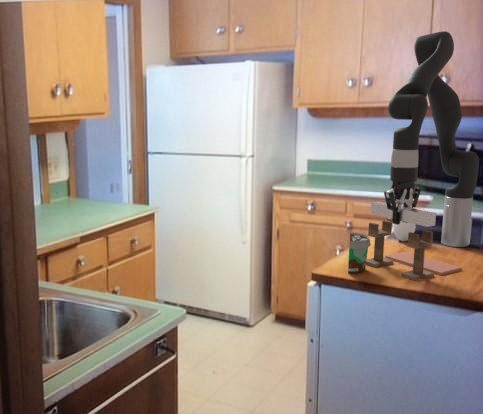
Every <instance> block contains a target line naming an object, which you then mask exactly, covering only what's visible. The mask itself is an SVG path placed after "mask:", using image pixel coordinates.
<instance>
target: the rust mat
mask: <svg viewBox="0 0 483 414" xmlns="http://www.w3.org/2000/svg"><path fill="white" fill-rule="evenodd" d="M384 258H387V259H390V260H393V262H396V263H399V264H402V263H403V264H402V265H406V266H409V267H412V268H413V262H414V252H408V251H401V252H397V253H392V254H387V255H385V256H384ZM423 270H426V271H429V272H432V273H434V275H438V276H443V275H448V274H451V273H455V272H460V271H462V270H463V267H461V266H459V265H454V264H451V263H448V262H444V261H441V260H437V259H433V258H430V257H427V256H424V266H423Z"/></svg>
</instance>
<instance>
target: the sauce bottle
mask: <svg viewBox="0 0 483 414" xmlns="http://www.w3.org/2000/svg"><path fill="white" fill-rule="evenodd" d="M402 206H403V204H402ZM416 225H417V224H413V223H405V222H402V221H400V224H398V225H397V224H393V223H392V229H393V230H392V231H393V233H394V236H395V238H397V239H398V240H399V241H401V242H407V241H408V233H410V232H411V233H415V231H416Z"/></svg>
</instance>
